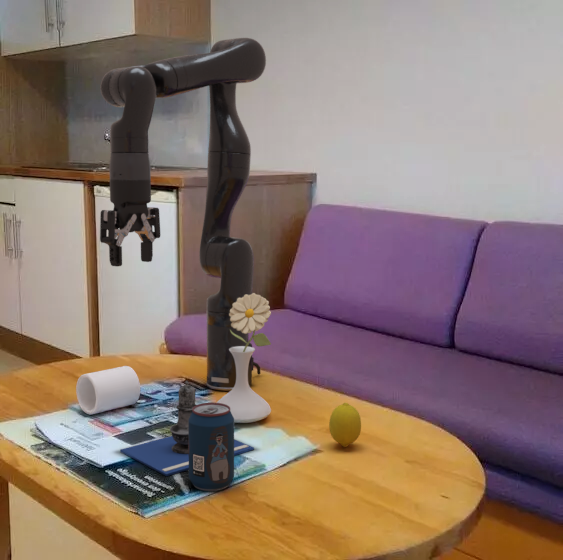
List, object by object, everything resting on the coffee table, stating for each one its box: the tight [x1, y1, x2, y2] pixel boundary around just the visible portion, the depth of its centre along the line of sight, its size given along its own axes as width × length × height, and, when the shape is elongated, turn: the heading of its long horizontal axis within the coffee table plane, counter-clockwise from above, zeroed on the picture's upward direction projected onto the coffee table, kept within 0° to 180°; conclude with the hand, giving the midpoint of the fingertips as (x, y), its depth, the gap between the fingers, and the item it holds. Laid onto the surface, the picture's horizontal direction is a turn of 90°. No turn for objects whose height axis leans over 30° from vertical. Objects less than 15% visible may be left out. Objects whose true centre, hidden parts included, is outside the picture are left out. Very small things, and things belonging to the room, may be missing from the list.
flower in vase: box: [216, 292, 272, 424], centre depth 147 cm, size 13×11×25 cm
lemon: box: [328, 402, 362, 448], centre depth 134 cm, size 6×6×8 cm
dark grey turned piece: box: [169, 380, 197, 454], centre depth 131 cm, size 6×6×12 cm
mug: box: [75, 365, 141, 416], centre depth 155 cm, size 12×10×8 cm
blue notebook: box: [119, 435, 255, 477], centre depth 132 cm, size 18×14×1 cm
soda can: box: [188, 402, 235, 492], centre depth 118 cm, size 7×7×12 cm
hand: (131, 263), depth 146 cm, fingers open, 8 cm apart
